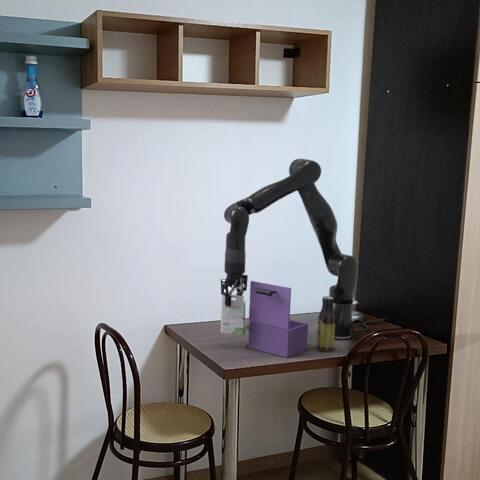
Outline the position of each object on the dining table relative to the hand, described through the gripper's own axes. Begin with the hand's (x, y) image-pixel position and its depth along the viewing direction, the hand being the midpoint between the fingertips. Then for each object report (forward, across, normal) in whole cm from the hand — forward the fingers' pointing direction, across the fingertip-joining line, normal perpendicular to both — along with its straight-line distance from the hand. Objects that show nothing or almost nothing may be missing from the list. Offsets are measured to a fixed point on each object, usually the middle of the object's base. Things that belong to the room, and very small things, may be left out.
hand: (233, 304), depth 238 cm
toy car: (+17, +67, -12) cm, 70 cm away
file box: (+16, +11, -13) cm, 23 cm away
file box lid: (-1, +4, -13) cm, 14 cm away
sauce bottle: (+17, +23, -26) cm, 38 cm away
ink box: (+11, 0, 0) cm, 11 cm away
